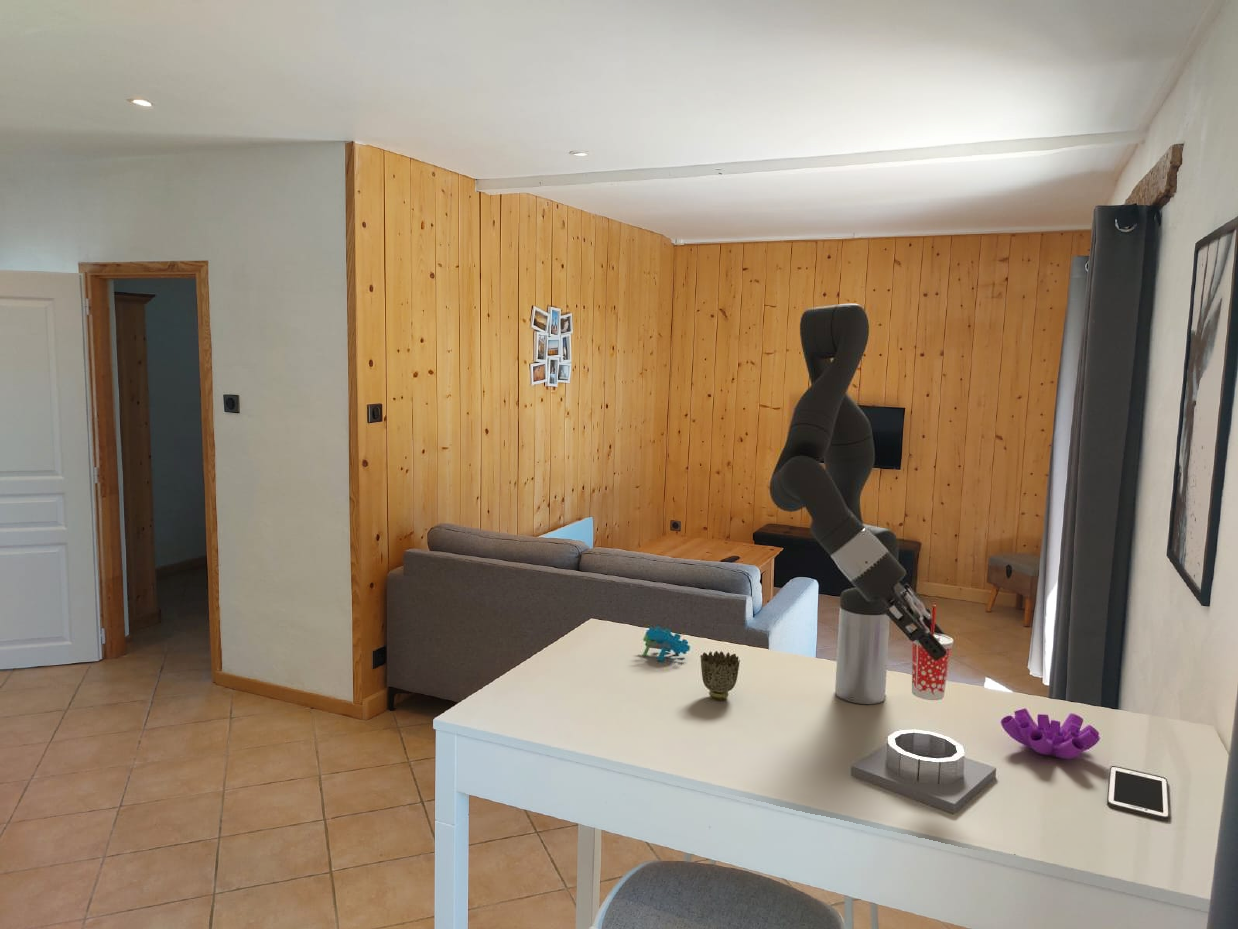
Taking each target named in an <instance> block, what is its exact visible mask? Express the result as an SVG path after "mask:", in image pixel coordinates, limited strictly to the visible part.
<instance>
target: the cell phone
mask: <svg viewBox="0 0 1238 929" xmlns="http://www.w3.org/2000/svg"><path fill="white" fill-rule="evenodd" d="M1168 782H1169V781H1168V779H1167V778H1166V777H1164V776H1161V775H1157V774H1156V775H1155V774H1153V773H1152V774H1151V773H1148V772H1143V771H1139V770H1134V769H1130V768H1125V767H1122V766H1117V765H1111V766H1110V767H1109V776H1108V786H1107V796H1106V806H1107V807H1108V808H1110V809H1113V810H1116V811H1121V812H1124V813H1128V814H1132V815H1136V816H1140V817H1145V818H1149V819H1153V820H1157V821H1161V822H1169V821H1170V797H1169V785H1168V784H1169V783H1168Z"/></svg>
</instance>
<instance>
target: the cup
mask: <svg viewBox="0 0 1238 929" xmlns="http://www.w3.org/2000/svg"><path fill="white" fill-rule="evenodd" d="M740 662H741V659H739V655H738V656H737V655H736V653H733V654H730V652H729V651H728V652H727V653H726V654H725V653H724V652H723V651H720V652H719V651H718V650H716V651H715V652H714V653H713V652H712V651H709V652H708V654H707V653H706V652H703V653H702V654H700V668H701V677H702V678H701V680H702V682H703V684H704V687H705V688H706V689H708V690H709V692H708V695H709V697H710V699H712V700H716V701H724V700H727V698H728V697H729V694H730V693H729V692H730V691H731V690H733V688H735V685H736V684H737V681H738V674H739V669H740Z"/></svg>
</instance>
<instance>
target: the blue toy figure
mask: <svg viewBox="0 0 1238 929" xmlns="http://www.w3.org/2000/svg"><path fill="white" fill-rule="evenodd" d="M671 632H672V630H671V629H669V628H665V629H664V630H663V629H662V628H661V627H660V626H655V627H651V626H649V627H648V630H646V631H645V634H644V637H643V639H642V640H643V642H645V644H644V645H645V646H646V647H645V649H644V651H643V653H642V656H644V657H647V654H648V652H649V651H650V649H657V650H660V652H659V654H658V656H657V659H656V660H657V661H658V662H662V661H663V659H664V657H665V655H666V653H671V651H672V652H673V653H674V654H676V655H681V654H683V655H686V654H687V652H690V649H691V646H690V645H689V641H688V640H687V639H684V638H683V639H682V640H681V637H682V635H681V634H679V633H677V632H676V633H674V635H673V634H672V633H671Z"/></svg>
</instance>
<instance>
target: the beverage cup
mask: <svg viewBox="0 0 1238 929" xmlns="http://www.w3.org/2000/svg"><path fill="white" fill-rule="evenodd" d="M936 613H937V605H936V604H933V605H932V610H931V615H932V622H931V633H932V634H933V635H934V637H935V638H936V639H937V640H938V641H939V642H940V643H941V645H942V646H943V647H944V648H945V649H946V655H945V656H943V657H942V658H940V659H939V660H934V659H933V658H932V657H931V656H930V655H929V653H928V652H927V651H926V650H925V649H924V648H923V647H922V645H921V644H920V643H919V642H916V641H914V642H912V641H911V640H910V641H911V643H912V645H911V652H912V653H911V693H912V695H913V696H915V697H917V698H919V699H923V700H927V701H940V700H943V698H944V697H945V691H946V690H945V689H946V683H947V677H948V670H949V663H950V657H951V656H950V655H951V650H952V648H953V646H954V642H955V641H954V639H953V638H952V637H951V636H948V635H947V634H946V635H947V636H946V635H943V634H939V633H934V627H935V623H936Z"/></svg>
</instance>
